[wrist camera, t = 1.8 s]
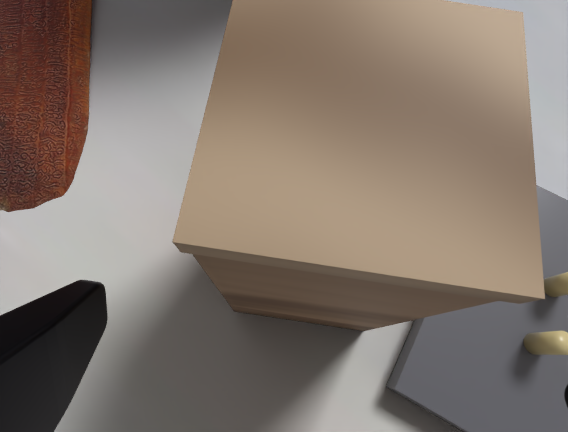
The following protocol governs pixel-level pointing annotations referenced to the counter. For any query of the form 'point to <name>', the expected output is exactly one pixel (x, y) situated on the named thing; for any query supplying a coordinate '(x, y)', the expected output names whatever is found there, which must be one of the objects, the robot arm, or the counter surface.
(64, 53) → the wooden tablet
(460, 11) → the tan square box
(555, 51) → the counter surface
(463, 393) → the flat gray plate
